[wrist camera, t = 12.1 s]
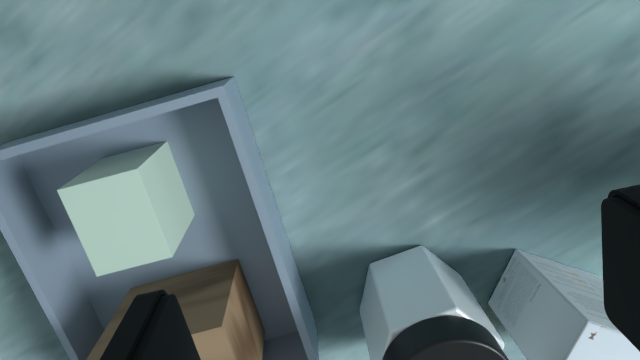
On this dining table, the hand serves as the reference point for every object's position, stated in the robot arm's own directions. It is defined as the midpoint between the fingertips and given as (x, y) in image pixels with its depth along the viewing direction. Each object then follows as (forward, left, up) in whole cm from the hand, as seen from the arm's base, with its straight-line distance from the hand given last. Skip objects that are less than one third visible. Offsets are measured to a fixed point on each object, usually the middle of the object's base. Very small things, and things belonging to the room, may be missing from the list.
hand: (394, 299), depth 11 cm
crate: (+7, -14, -27) cm, 31 cm away
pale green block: (+2, -14, -26) cm, 30 cm away
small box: (+20, +14, -27) cm, 36 cm away
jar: (+17, +3, -27) cm, 32 cm away
